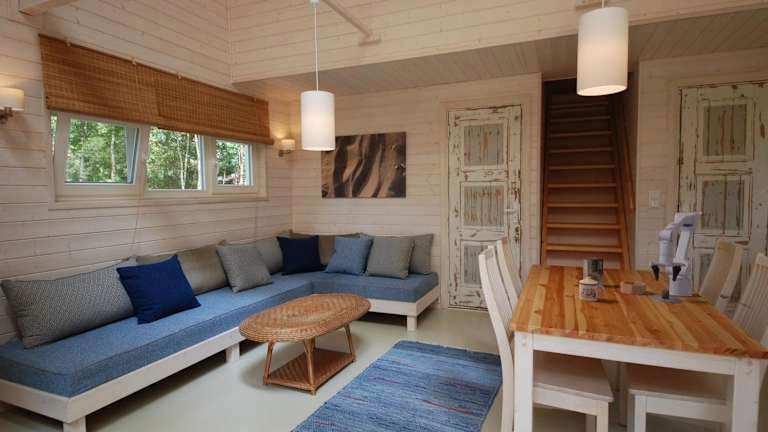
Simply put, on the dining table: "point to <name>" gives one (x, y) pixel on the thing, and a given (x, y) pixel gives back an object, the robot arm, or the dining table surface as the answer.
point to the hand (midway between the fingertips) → (665, 280)
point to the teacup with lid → (589, 289)
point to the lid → (665, 298)
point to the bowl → (633, 287)
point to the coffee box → (593, 269)
